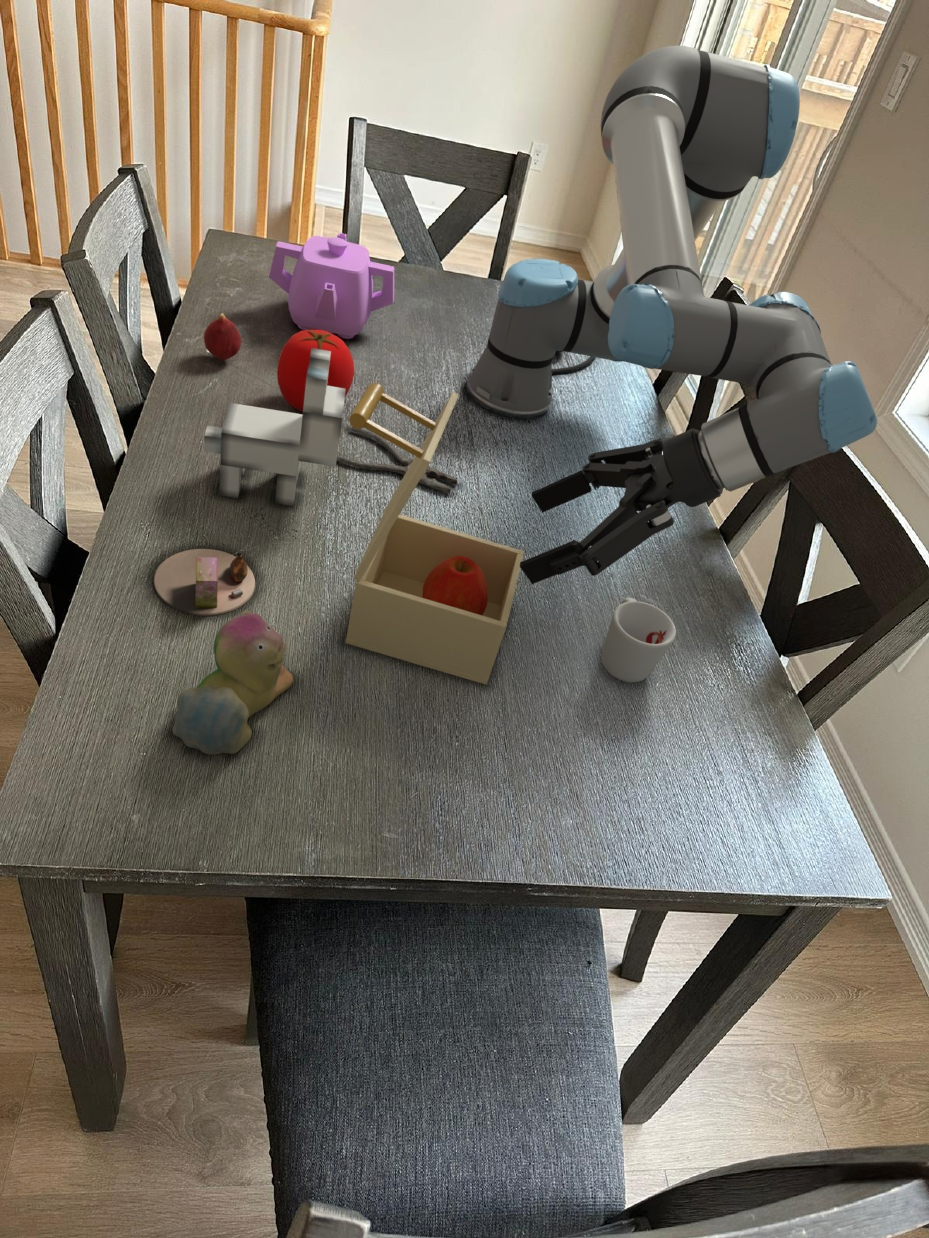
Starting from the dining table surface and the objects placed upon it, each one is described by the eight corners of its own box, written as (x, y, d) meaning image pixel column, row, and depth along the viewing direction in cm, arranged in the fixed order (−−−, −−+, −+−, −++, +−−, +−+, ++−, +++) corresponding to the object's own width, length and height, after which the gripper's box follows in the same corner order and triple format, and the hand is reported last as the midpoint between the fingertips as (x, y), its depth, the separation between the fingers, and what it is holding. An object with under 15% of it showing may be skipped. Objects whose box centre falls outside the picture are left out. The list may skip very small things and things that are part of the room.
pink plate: (257, 615, 106) (259, 588, 103) (151, 615, 103) (150, 586, 100) (253, 550, 115) (254, 523, 112) (154, 548, 111) (153, 519, 108)
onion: (247, 360, 148) (249, 315, 143) (226, 373, 144) (227, 327, 138) (218, 347, 149) (219, 302, 144) (196, 359, 145) (196, 313, 140)
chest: (505, 607, 117) (524, 551, 110) (486, 685, 106) (506, 627, 100) (377, 569, 117) (389, 510, 110) (345, 643, 106) (355, 582, 100)
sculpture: (240, 772, 90) (244, 708, 83) (163, 743, 91) (161, 678, 84) (298, 675, 101) (306, 612, 94) (229, 651, 101) (232, 586, 95)
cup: (584, 626, 118) (603, 582, 112) (640, 632, 119) (662, 588, 114) (600, 687, 110) (621, 643, 105) (660, 692, 112) (684, 649, 106)
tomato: (300, 433, 136) (308, 358, 128) (259, 395, 141) (264, 320, 133) (365, 416, 143) (376, 345, 135) (324, 381, 149) (332, 310, 140)
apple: (405, 606, 112) (420, 540, 105) (464, 598, 115) (482, 534, 108) (428, 652, 107) (446, 587, 100) (489, 643, 110) (510, 579, 103)
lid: (459, 394, 98) (386, 352, 97) (430, 462, 88) (347, 416, 86) (392, 509, 110) (326, 473, 109) (359, 581, 99) (285, 542, 98)
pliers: (342, 422, 139) (465, 457, 139) (341, 426, 140) (464, 461, 140) (324, 453, 132) (453, 490, 132) (323, 458, 132) (452, 495, 132)
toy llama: (209, 461, 126) (212, 330, 113) (333, 480, 129) (350, 354, 116) (200, 492, 121) (202, 359, 107) (329, 511, 124) (347, 383, 110)
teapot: (321, 355, 154) (331, 271, 144) (255, 309, 161) (260, 225, 151) (399, 334, 167) (413, 255, 156) (335, 292, 174) (344, 213, 164)
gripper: (735, 560, 83) (538, 632, 93) (718, 428, 102) (555, 499, 111) (703, 500, 80) (502, 581, 89) (691, 375, 98) (525, 453, 108)
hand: (531, 536), depth 100 cm, fingers open, 13 cm apart
